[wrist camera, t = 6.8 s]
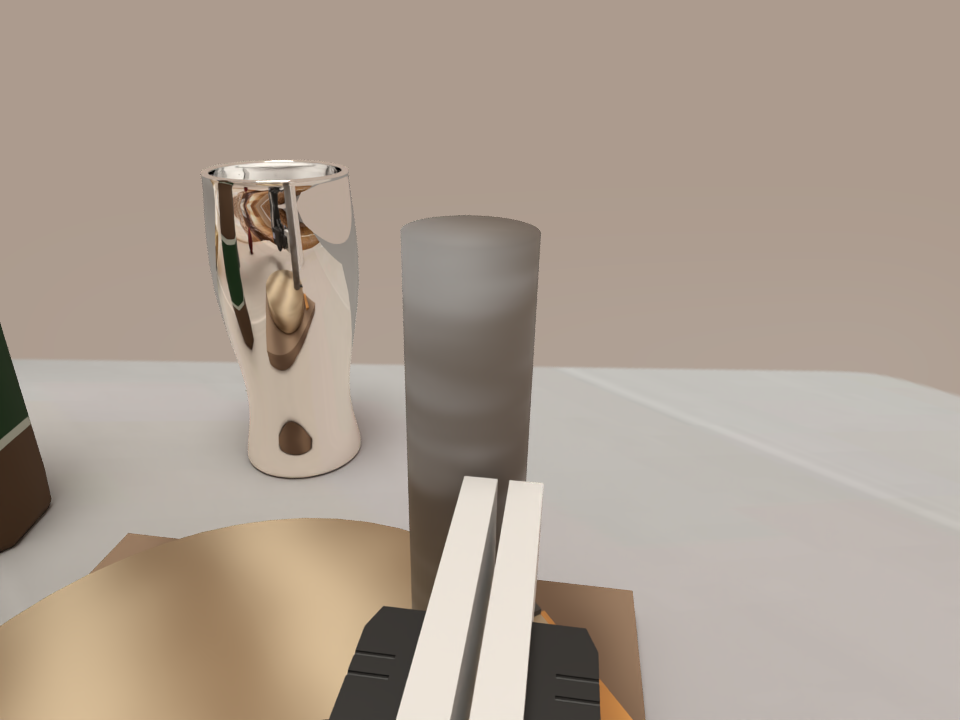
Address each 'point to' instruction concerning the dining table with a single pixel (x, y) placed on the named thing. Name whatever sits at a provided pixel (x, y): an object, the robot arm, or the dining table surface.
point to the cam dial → (305, 529)
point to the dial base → (560, 605)
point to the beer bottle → (17, 460)
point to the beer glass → (288, 305)
